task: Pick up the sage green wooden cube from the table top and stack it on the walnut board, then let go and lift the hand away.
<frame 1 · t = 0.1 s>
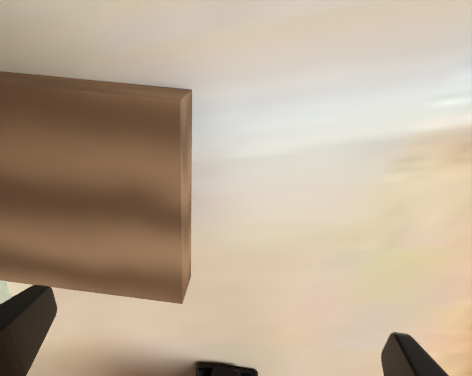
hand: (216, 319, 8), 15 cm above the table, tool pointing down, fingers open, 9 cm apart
walnut board: (88, 186, 24), on the table
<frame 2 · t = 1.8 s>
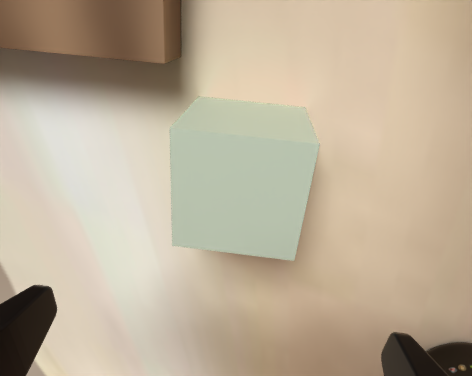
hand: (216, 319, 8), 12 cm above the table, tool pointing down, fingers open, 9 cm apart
sage cube: (246, 150, 19), on the table
supplement bottle: (452, 363, 27), on the table
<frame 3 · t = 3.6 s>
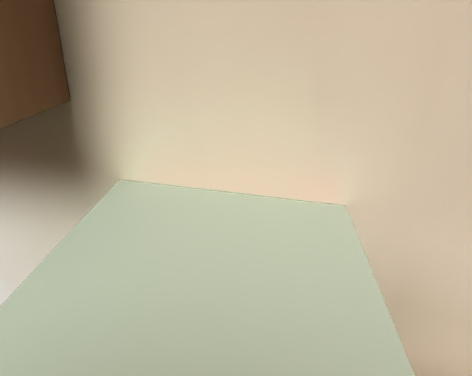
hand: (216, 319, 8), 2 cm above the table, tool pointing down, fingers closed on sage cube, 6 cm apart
sage cube: (223, 277, 10), on the table, touching gripper
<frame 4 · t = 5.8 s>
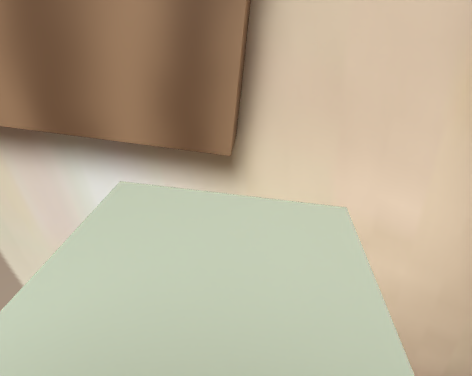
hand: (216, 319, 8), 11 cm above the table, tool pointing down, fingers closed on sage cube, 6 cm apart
sage cube: (224, 278, 10), point 10 cm above the table, touching gripper
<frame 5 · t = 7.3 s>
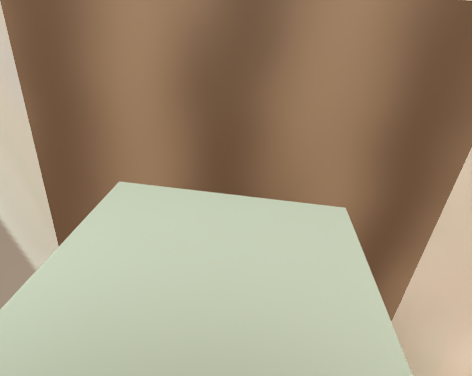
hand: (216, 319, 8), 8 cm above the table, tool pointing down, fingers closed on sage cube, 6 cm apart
walnut board: (239, 180, 16), on the table
sage cube: (223, 278, 10), point 7 cm above the table, touching gripper
when the fingers open (6 cm above the table, at t = 8.3 s): sage cube drops 1 cm, resting on walnut board.
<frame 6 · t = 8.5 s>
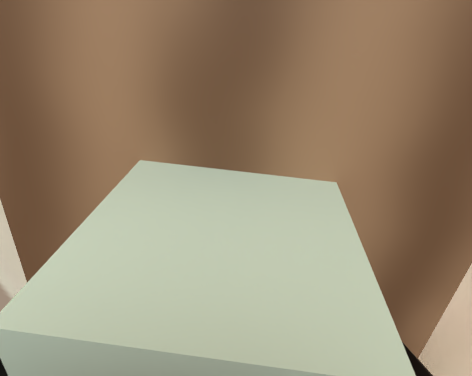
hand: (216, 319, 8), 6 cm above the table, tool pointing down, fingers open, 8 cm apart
walnut board: (236, 203, 14), on the table
sage cube: (229, 248, 11), point 3 cm above the table, touching walnut board
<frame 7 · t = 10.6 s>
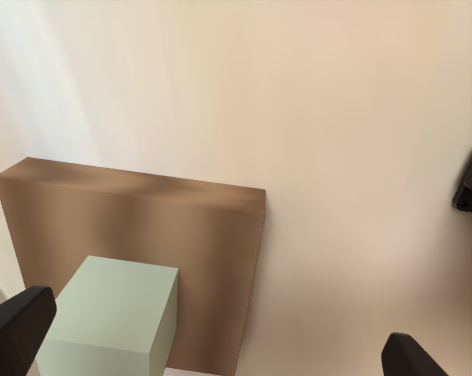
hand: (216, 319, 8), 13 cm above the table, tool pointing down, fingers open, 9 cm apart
walnut board: (148, 264, 25), on the table
sage cube: (135, 294, 22), point 3 cm above the table, touching walnut board
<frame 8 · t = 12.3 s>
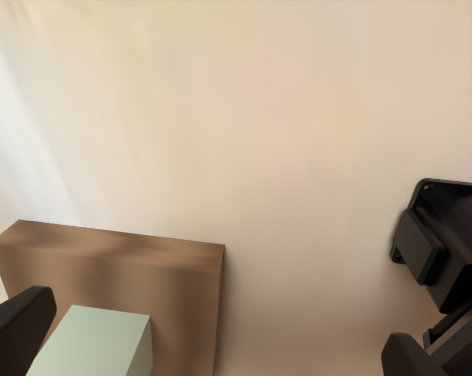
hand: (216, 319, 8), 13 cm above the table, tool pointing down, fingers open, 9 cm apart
walnut board: (128, 305, 28), on the table
sage cube: (114, 336, 25), point 3 cm above the table, touching walnut board
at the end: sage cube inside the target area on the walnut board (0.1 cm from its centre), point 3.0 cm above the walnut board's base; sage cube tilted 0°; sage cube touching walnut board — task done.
